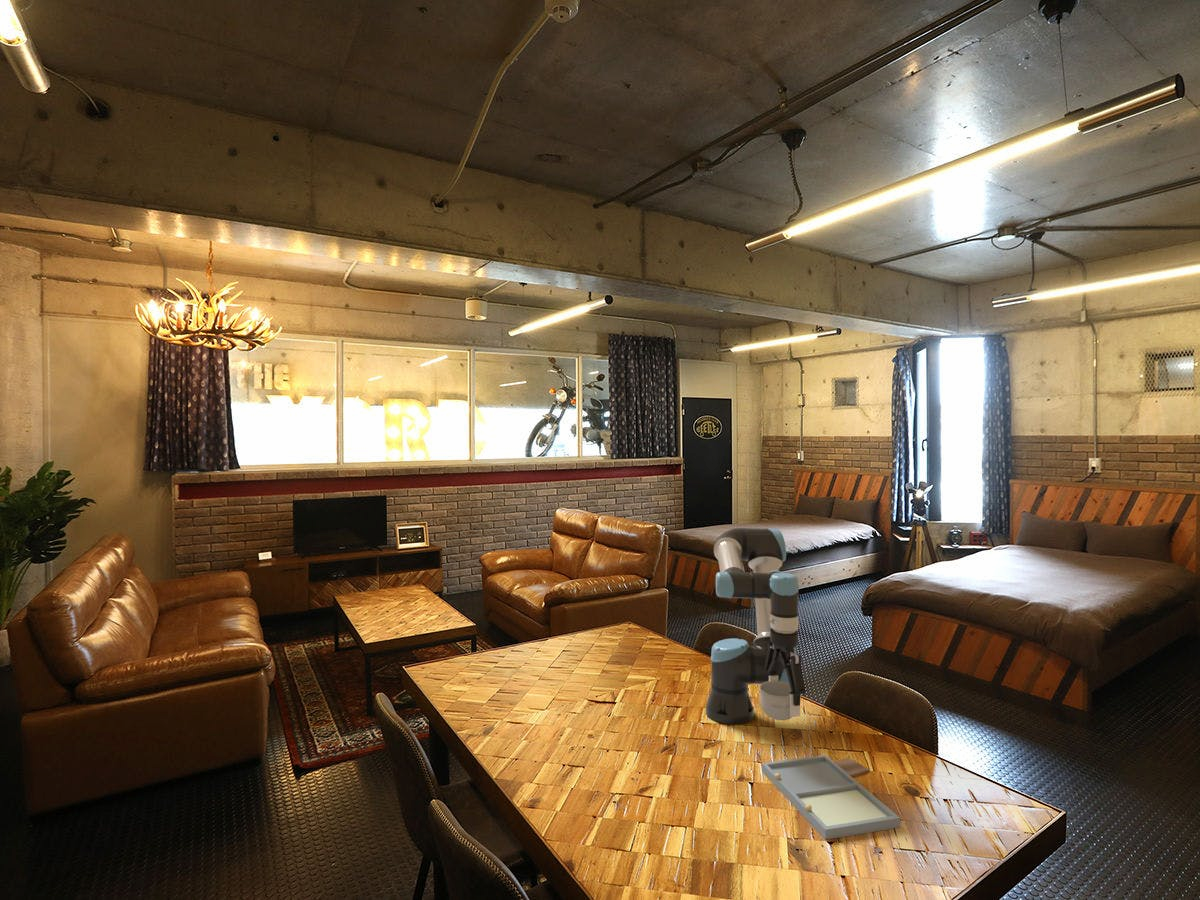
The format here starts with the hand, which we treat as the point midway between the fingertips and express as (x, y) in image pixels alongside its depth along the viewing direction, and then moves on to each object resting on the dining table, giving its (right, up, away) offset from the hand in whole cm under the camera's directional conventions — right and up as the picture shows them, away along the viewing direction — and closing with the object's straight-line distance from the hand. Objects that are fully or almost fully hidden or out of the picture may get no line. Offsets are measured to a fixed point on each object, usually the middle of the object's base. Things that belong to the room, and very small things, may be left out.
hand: (783, 706), depth 173 cm
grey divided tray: (+4, -13, -22) cm, 26 cm away
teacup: (0, -2, 0) cm, 2 cm away
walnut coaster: (+15, -14, -8) cm, 22 cm away
